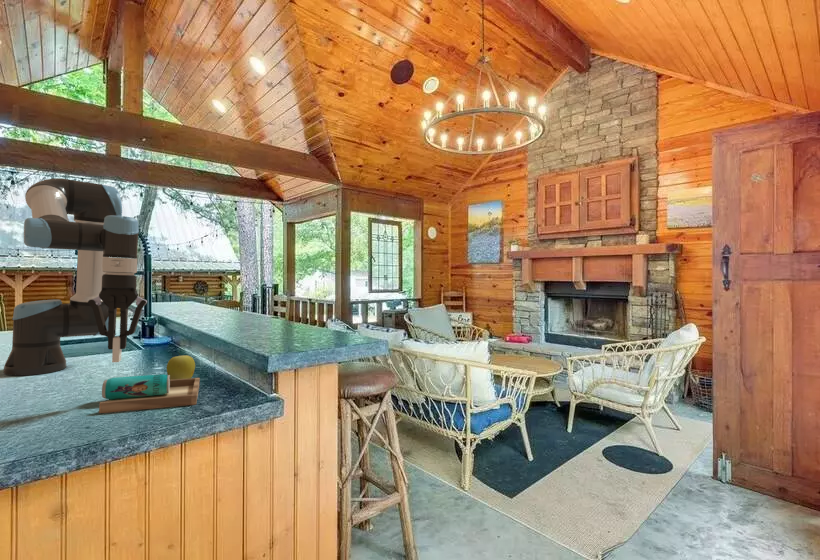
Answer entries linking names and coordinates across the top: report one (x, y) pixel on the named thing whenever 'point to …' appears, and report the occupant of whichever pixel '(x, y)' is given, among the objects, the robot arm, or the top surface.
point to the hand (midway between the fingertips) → (116, 361)
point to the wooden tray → (157, 398)
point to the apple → (181, 367)
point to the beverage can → (135, 386)
